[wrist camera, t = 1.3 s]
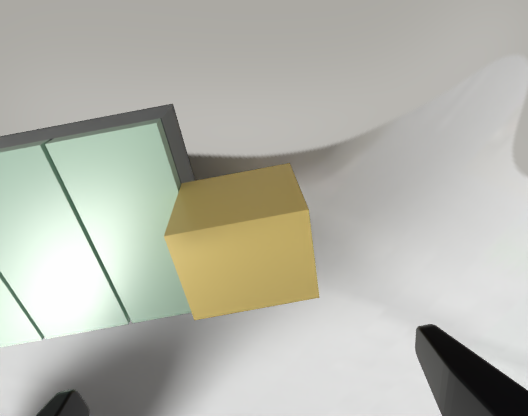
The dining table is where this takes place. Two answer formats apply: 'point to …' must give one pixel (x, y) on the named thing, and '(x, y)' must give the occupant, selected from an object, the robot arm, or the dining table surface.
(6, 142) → the tub
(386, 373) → the dining table surface
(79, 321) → the grooved mint slab
